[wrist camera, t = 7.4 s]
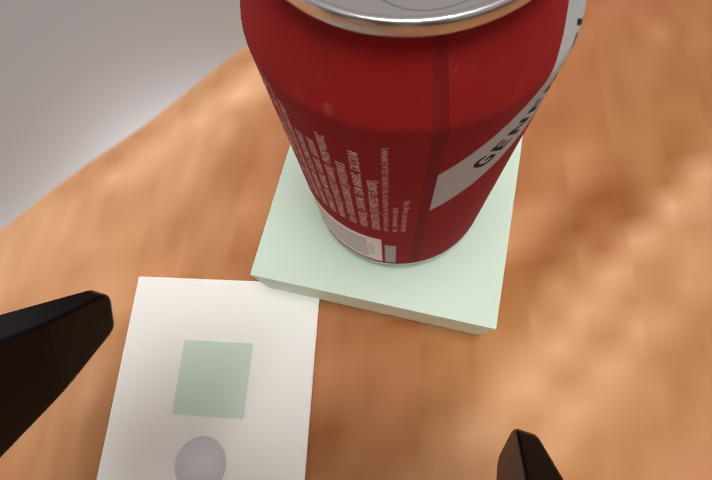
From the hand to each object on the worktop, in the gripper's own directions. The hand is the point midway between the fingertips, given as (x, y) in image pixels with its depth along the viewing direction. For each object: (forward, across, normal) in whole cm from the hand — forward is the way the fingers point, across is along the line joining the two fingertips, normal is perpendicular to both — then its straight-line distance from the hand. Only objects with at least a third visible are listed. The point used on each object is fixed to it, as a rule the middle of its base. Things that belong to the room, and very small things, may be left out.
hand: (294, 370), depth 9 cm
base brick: (+13, 0, +2) cm, 13 cm away
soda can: (+11, 0, 0) cm, 11 cm away
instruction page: (+5, +5, +10) cm, 12 cm away
